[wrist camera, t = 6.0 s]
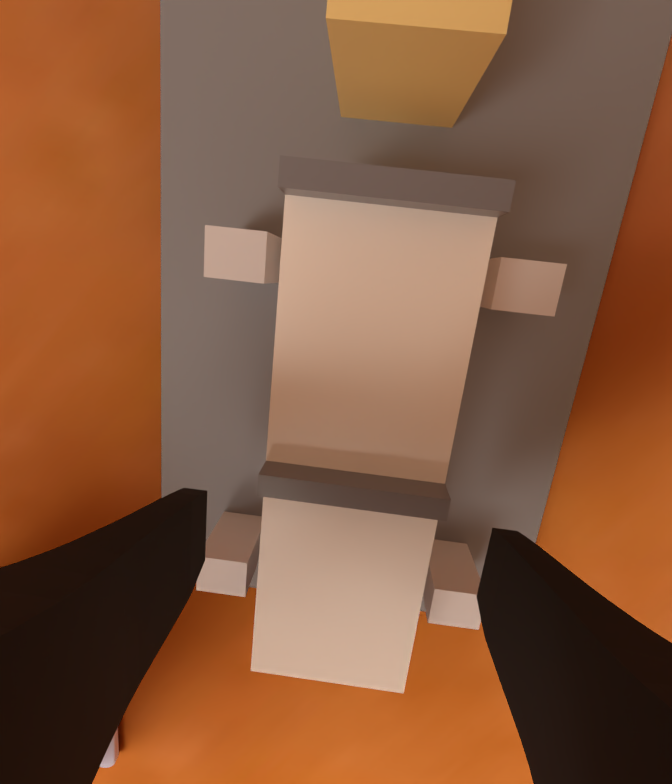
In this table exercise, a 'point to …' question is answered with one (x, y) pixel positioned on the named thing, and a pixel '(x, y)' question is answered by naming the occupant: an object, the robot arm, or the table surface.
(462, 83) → the tan rectangular block
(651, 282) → the table surface
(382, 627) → the cream rectangular block
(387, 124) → the jig
